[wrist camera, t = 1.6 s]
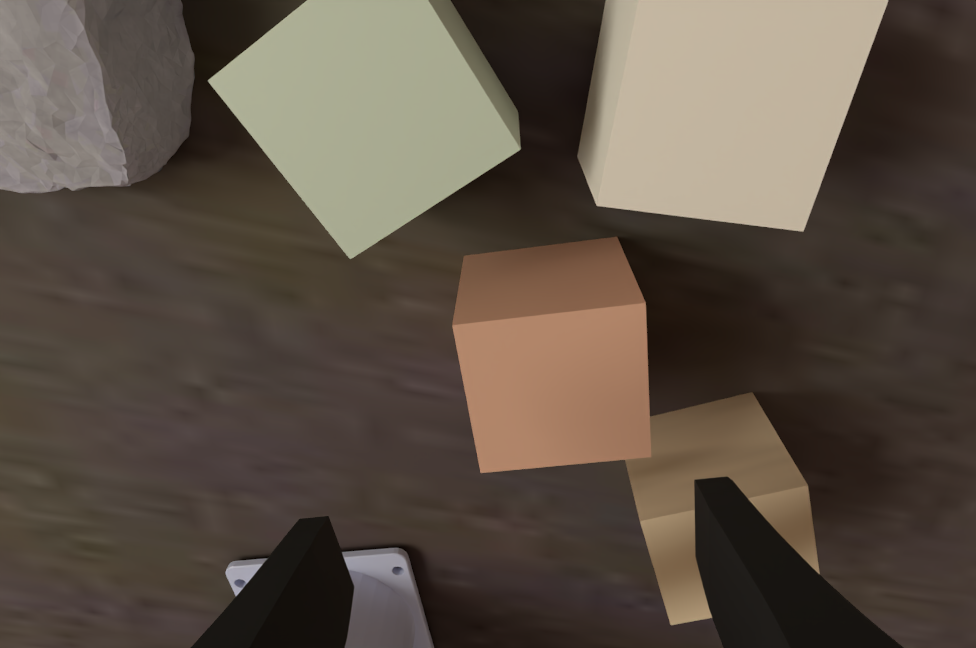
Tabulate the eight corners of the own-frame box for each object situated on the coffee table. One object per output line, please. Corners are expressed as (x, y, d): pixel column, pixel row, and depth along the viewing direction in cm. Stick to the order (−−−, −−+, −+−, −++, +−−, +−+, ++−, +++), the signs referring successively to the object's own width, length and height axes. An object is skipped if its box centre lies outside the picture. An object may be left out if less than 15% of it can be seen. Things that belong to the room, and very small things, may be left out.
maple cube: (768, 491, 26) (822, 597, 21) (643, 518, 26) (670, 625, 22) (751, 390, 23) (807, 485, 19) (616, 423, 24) (640, 521, 20)
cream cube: (737, 176, 20) (803, 231, 15) (577, 155, 20) (596, 205, 15) (792, -6, 17) (889, -2, 13) (610, -30, 17) (645, -35, 13)
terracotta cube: (623, 366, 23) (651, 457, 19) (486, 381, 23) (480, 473, 19) (616, 235, 21) (645, 303, 16) (464, 254, 21) (452, 325, 17)
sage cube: (518, 111, 19) (520, 149, 15) (384, 199, 20) (350, 259, 16) (419, -53, 17) (388, -65, 13) (279, 57, 19) (207, 80, 14)
